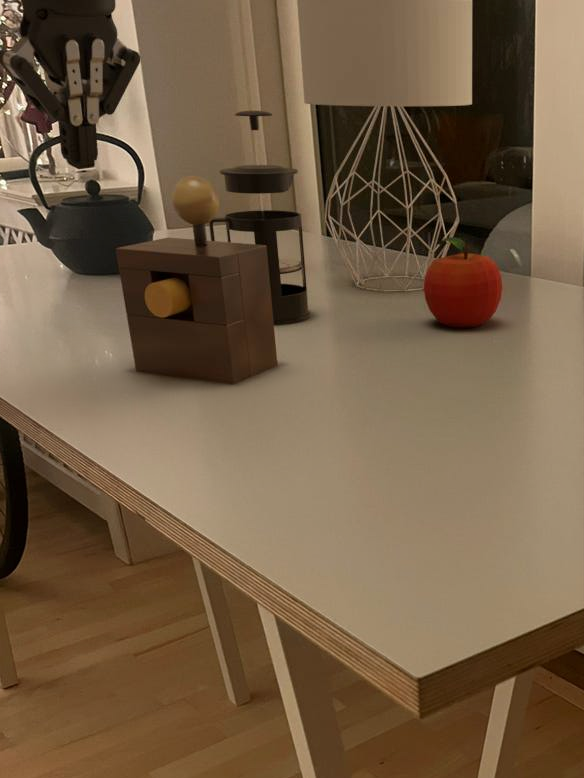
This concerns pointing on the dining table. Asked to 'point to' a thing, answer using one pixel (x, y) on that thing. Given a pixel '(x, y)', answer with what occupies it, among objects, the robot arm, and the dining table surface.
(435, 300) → the fruit
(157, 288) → the button
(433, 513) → the dining table surface
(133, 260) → the switch box
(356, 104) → the table lamp
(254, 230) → the french press
